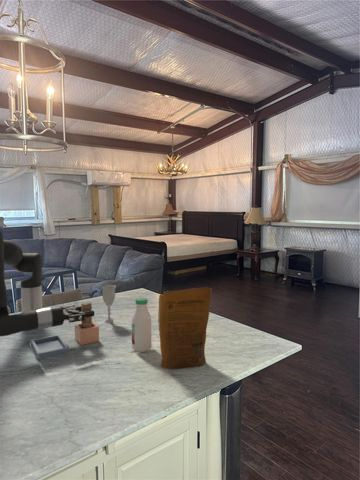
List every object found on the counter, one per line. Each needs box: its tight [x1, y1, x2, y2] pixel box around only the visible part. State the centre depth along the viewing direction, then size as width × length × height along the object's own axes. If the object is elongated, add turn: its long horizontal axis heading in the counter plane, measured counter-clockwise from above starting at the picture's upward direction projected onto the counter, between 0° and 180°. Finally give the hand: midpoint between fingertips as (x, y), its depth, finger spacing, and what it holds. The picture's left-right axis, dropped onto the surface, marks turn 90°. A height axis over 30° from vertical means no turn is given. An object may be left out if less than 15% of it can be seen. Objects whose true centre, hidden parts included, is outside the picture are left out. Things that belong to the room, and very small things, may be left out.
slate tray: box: [30, 334, 71, 362], centre depth 127 cm, size 16×11×2 cm
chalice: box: [101, 284, 117, 324], centre depth 156 cm, size 7×7×18 cm
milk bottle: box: [131, 297, 152, 353], centre depth 128 cm, size 8×8×20 cm
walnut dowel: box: [80, 302, 93, 329], centre depth 134 cm, size 4×4×15 cm
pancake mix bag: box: [157, 287, 213, 370], centre depth 114 cm, size 7×19×28 cm, turn 102°
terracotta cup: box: [74, 321, 100, 346], centre depth 135 cm, size 8×8×7 cm
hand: (90, 310), depth 135 cm, fingers open, 8 cm apart
